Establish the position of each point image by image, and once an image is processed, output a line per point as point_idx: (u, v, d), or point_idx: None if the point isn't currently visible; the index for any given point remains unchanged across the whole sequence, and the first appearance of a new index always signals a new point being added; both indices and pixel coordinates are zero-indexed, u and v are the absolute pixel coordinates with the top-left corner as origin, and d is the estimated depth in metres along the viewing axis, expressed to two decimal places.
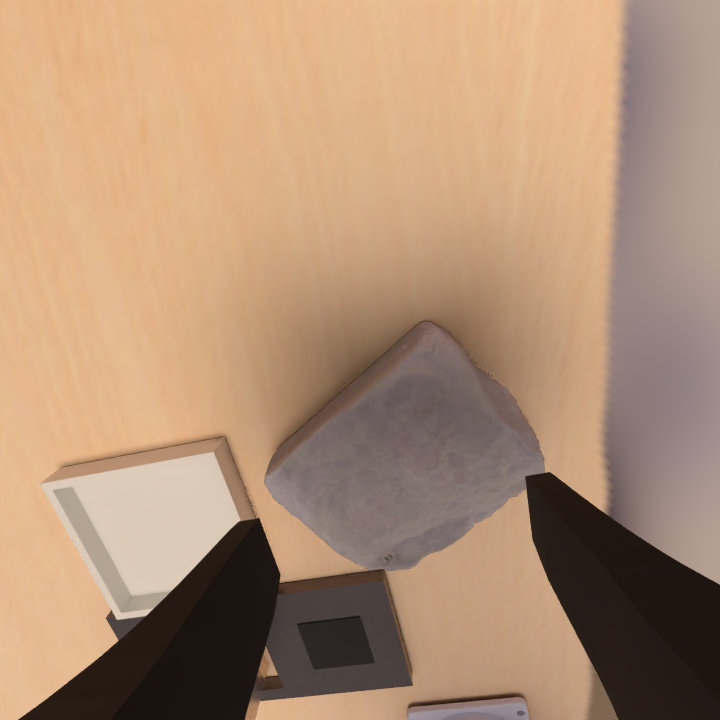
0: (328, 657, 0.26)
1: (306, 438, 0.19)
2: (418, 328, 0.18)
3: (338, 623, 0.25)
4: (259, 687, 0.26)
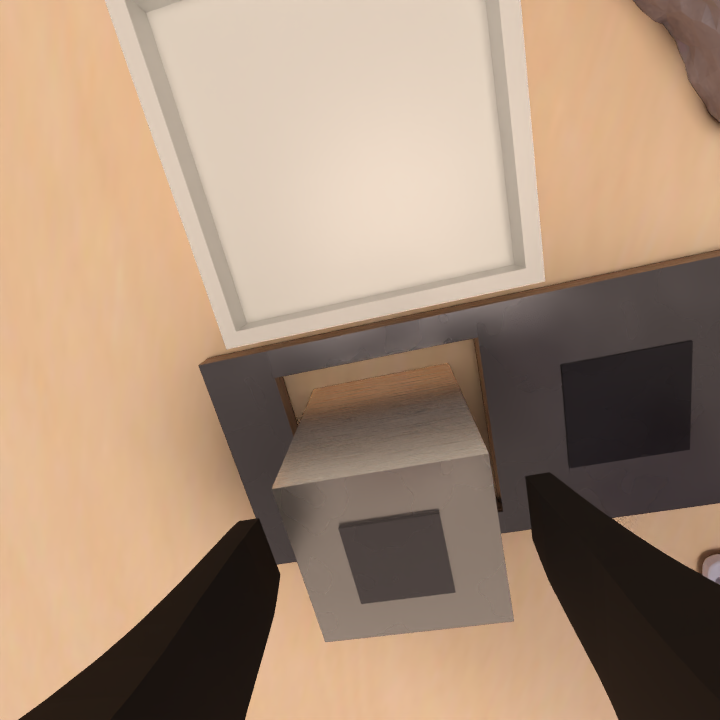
0: (604, 440, 0.14)
1: None
2: None
3: (644, 358, 0.13)
4: None
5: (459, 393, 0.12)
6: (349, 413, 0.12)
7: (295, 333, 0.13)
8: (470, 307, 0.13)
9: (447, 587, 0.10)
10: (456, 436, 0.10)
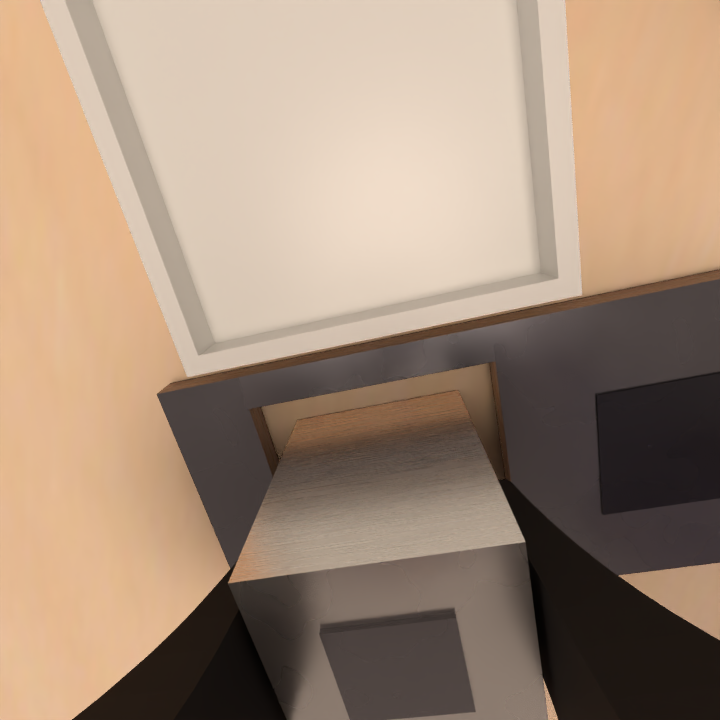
0: (645, 482, 0.12)
1: None
2: None
3: (699, 387, 0.11)
4: None
5: (475, 437, 0.09)
6: (337, 459, 0.10)
7: (271, 358, 0.10)
8: (486, 325, 0.11)
9: (465, 705, 0.07)
10: (476, 507, 0.07)
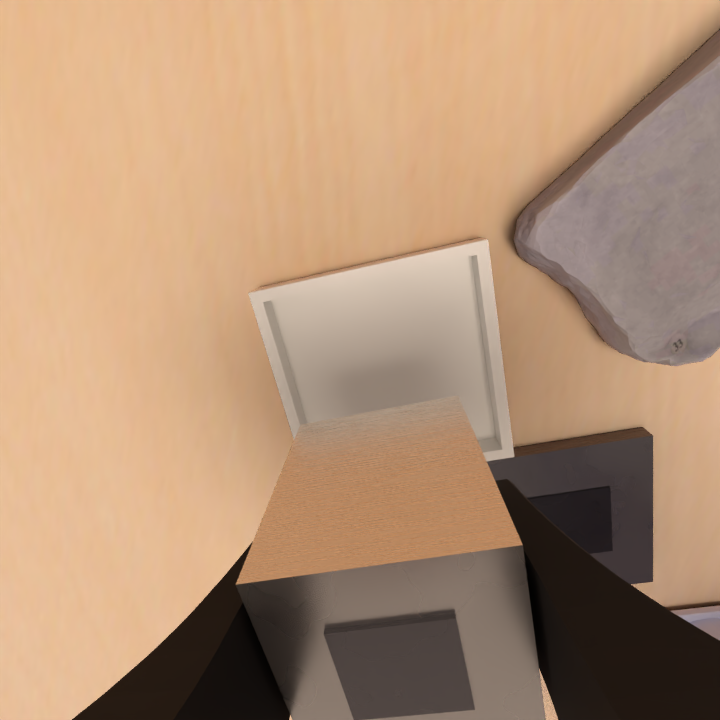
0: None
1: (611, 147, 0.14)
2: None
3: (580, 496, 0.20)
4: None
5: (474, 441, 0.10)
6: (340, 464, 0.10)
7: None
8: None
9: (465, 704, 0.08)
10: (475, 510, 0.08)
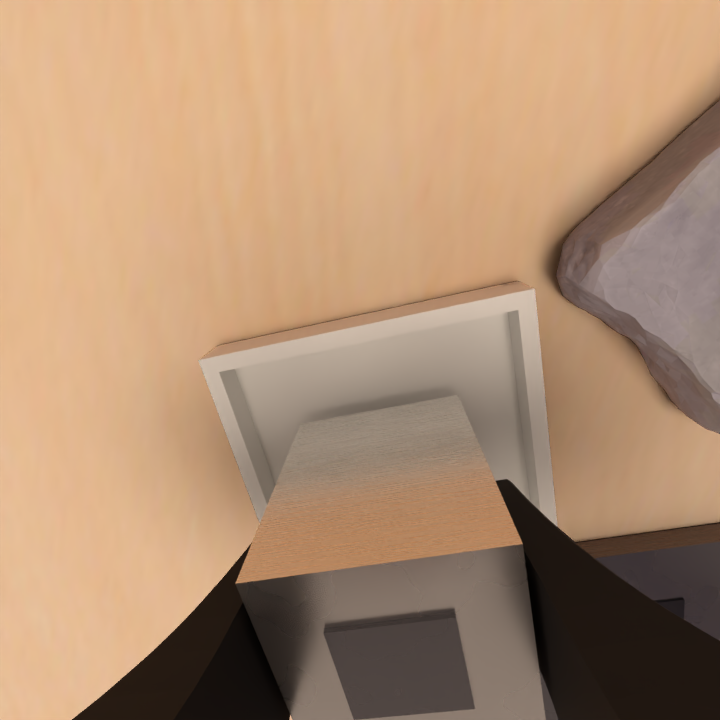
0: None
1: None
2: None
3: None
4: None
5: (474, 440, 0.10)
6: (340, 463, 0.10)
7: None
8: None
9: (464, 702, 0.08)
10: (475, 510, 0.08)
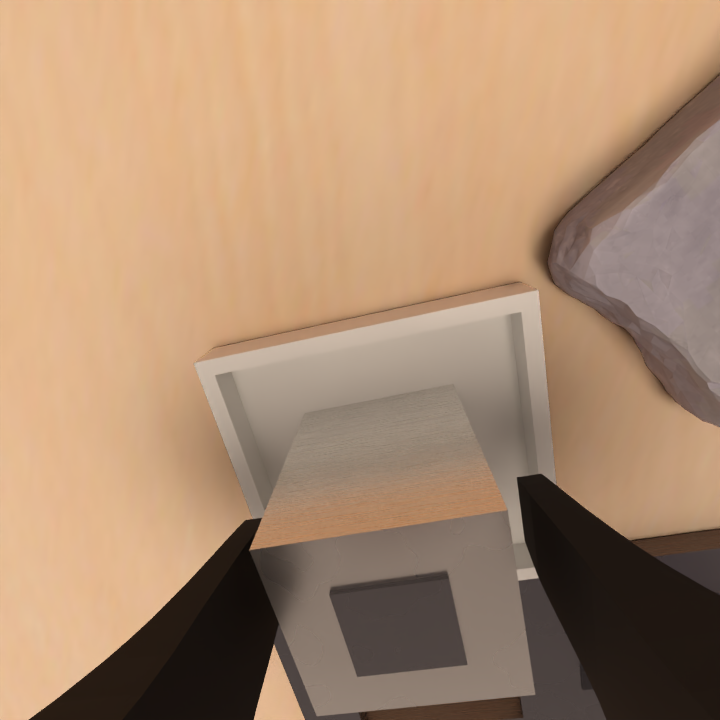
0: None
1: (715, 119, 0.08)
2: None
3: None
4: None
5: (467, 424, 0.10)
6: (342, 446, 0.11)
7: None
8: None
9: (458, 659, 0.09)
10: (466, 483, 0.08)
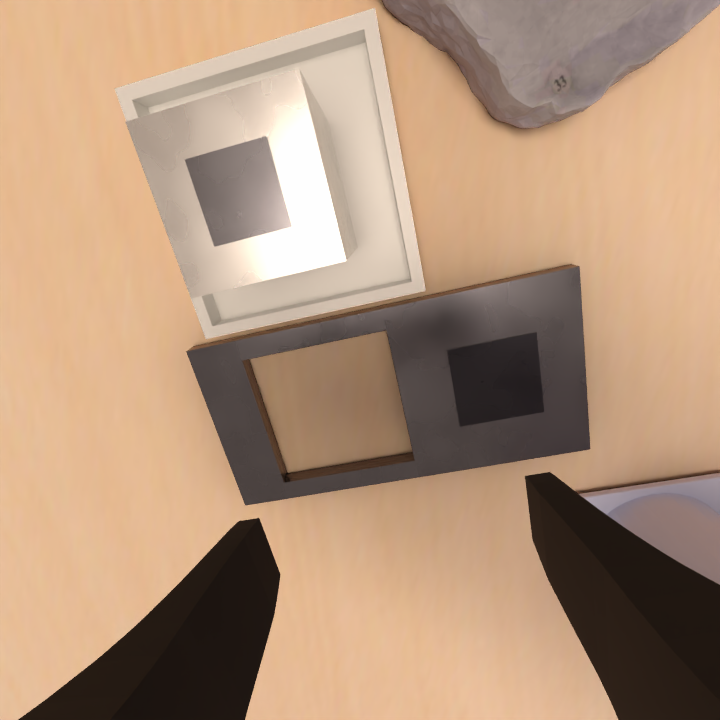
0: (482, 405, 0.19)
1: None
2: None
3: (504, 345, 0.18)
4: (352, 237, 0.16)
5: (316, 103, 0.14)
6: None
7: (254, 327, 0.18)
8: (380, 308, 0.18)
9: (283, 221, 0.12)
10: None
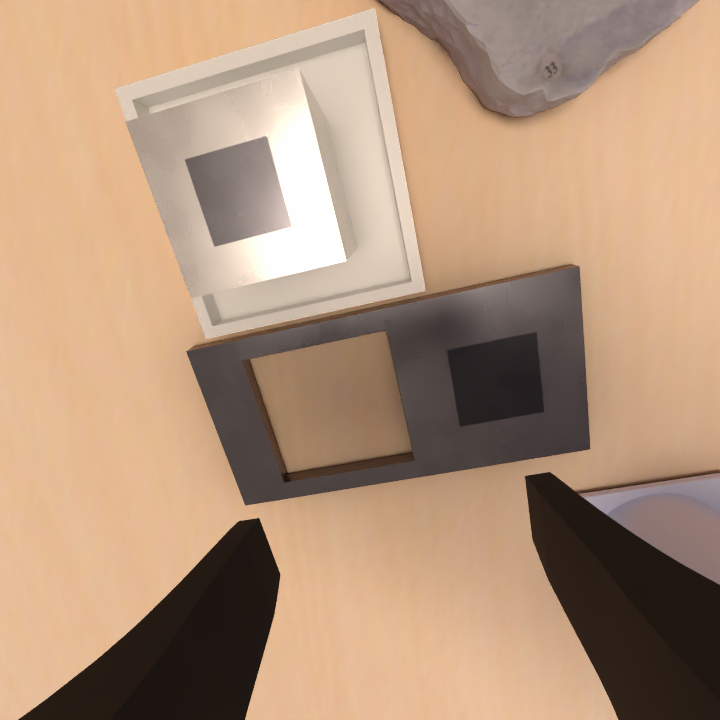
0: (482, 405, 0.19)
1: None
2: None
3: (504, 345, 0.18)
4: (352, 237, 0.16)
5: (316, 103, 0.14)
6: None
7: (254, 327, 0.18)
8: (380, 308, 0.18)
9: (283, 221, 0.12)
10: None
